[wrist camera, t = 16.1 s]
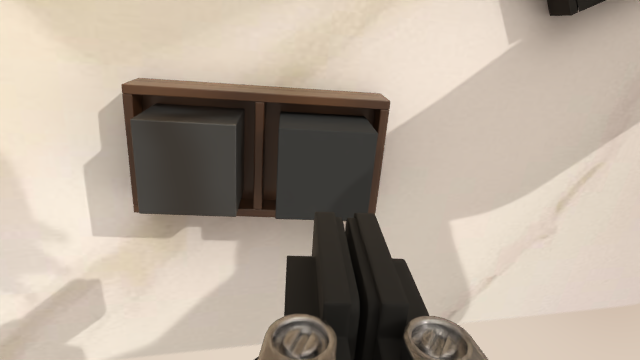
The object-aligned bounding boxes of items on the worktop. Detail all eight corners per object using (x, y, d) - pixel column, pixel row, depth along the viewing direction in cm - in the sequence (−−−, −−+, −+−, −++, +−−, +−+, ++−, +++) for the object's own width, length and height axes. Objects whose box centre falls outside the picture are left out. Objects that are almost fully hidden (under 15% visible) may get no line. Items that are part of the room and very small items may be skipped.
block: (364, 116, 24) (378, 133, 21) (356, 193, 26) (367, 221, 22) (280, 110, 24) (278, 127, 20) (277, 190, 26) (275, 219, 22)
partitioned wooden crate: (381, 93, 25) (402, 110, 20) (367, 204, 27) (382, 241, 23) (137, 77, 24) (100, 92, 19) (147, 195, 26) (117, 233, 22)
